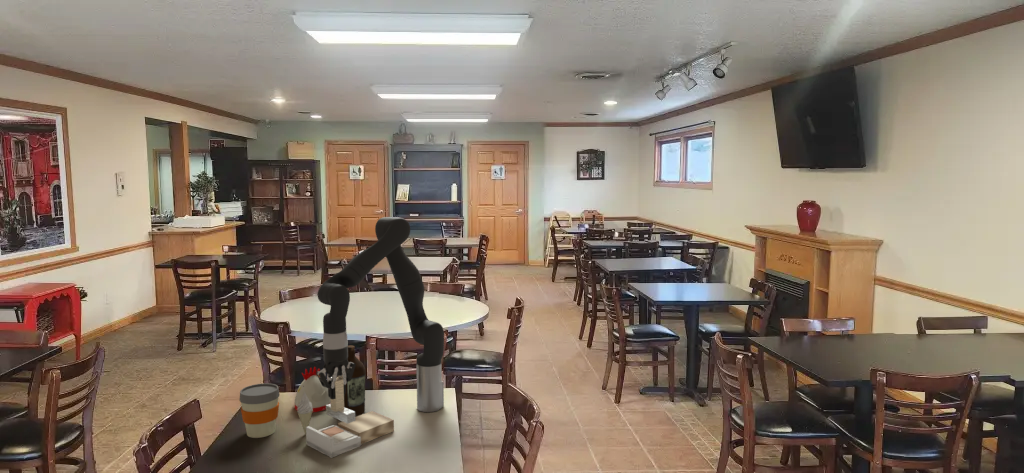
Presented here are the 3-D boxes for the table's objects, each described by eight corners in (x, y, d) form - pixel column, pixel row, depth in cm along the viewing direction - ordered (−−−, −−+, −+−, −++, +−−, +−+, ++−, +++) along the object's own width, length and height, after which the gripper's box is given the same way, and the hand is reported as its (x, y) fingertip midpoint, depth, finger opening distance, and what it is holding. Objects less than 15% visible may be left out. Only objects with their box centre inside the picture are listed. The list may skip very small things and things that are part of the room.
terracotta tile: (335, 432, 203) (335, 426, 203) (344, 436, 200) (344, 430, 200) (322, 437, 200) (322, 431, 199) (331, 441, 196) (330, 435, 196)
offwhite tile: (344, 437, 200) (344, 431, 200) (353, 441, 197) (353, 435, 196) (331, 442, 196) (331, 436, 196) (340, 446, 193) (340, 440, 193)
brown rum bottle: (331, 412, 224) (329, 346, 222) (357, 405, 231) (355, 340, 229) (345, 421, 217) (344, 352, 214) (371, 413, 224) (370, 346, 221)
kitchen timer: (289, 404, 232) (288, 366, 231) (324, 396, 241) (323, 359, 239) (303, 415, 221) (301, 375, 220) (338, 406, 230) (338, 368, 229)
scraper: (334, 411, 203) (332, 373, 202) (355, 420, 196) (354, 381, 194) (323, 414, 200) (322, 376, 199) (344, 424, 193) (343, 385, 191)
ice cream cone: (297, 438, 202) (295, 394, 201) (298, 432, 207) (297, 389, 206) (313, 436, 204) (311, 393, 202) (314, 430, 208) (312, 387, 207)
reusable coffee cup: (266, 441, 200) (265, 397, 198) (232, 438, 202) (230, 394, 201) (288, 426, 212) (286, 384, 210) (255, 423, 214) (254, 381, 213)
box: (336, 433, 206) (335, 416, 205) (360, 445, 197) (360, 428, 196) (306, 444, 197) (306, 426, 197) (331, 457, 188) (330, 439, 188)
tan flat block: (372, 421, 216) (372, 411, 215) (393, 431, 208) (393, 419, 208) (338, 434, 205) (338, 423, 205) (359, 444, 197) (359, 432, 197)
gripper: (322, 352, 187) (324, 406, 189) (360, 342, 198) (362, 393, 200) (309, 347, 192) (311, 400, 194) (347, 338, 203) (349, 388, 205)
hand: (337, 396), depth 197 cm, fingers closed on scraper, 3 cm apart
